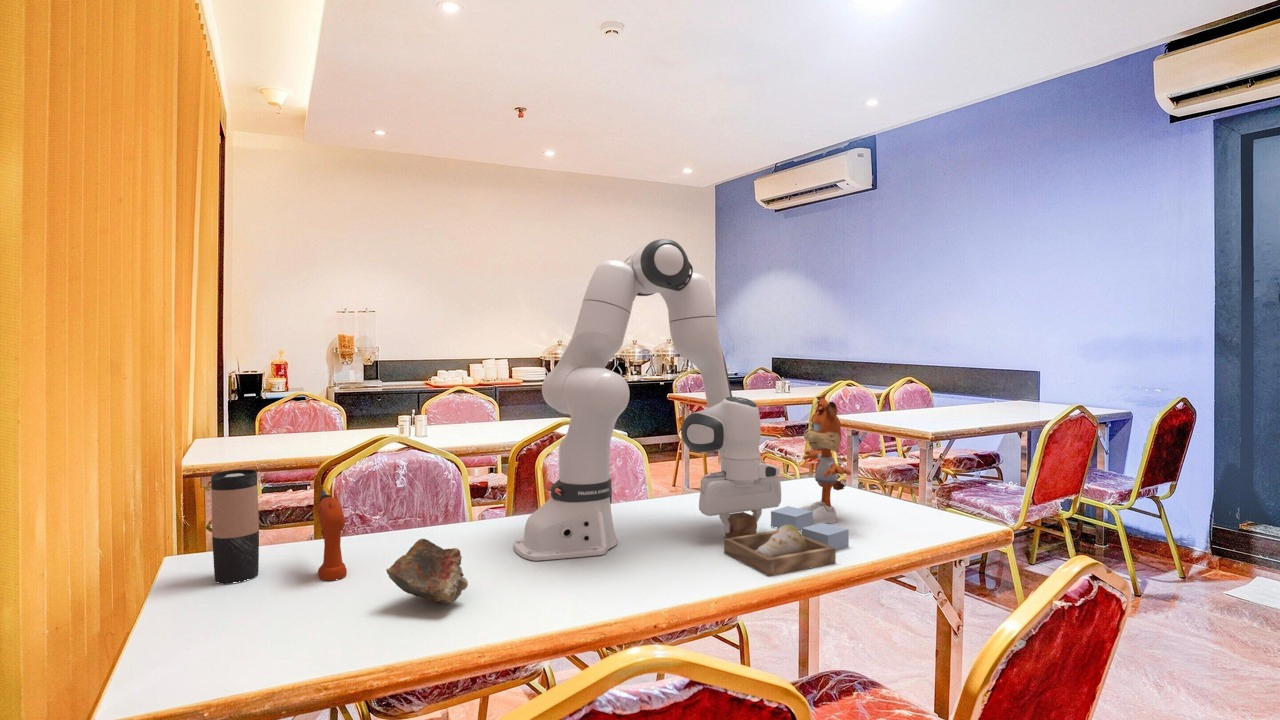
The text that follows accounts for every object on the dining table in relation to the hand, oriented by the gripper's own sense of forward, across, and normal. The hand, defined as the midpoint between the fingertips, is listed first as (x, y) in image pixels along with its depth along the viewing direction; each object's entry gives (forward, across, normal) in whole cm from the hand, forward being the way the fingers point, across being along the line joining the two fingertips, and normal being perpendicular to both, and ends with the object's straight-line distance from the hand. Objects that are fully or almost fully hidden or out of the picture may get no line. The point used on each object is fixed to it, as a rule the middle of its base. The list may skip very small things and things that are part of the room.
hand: (740, 530), depth 152 cm
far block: (+2, +16, +2) cm, 16 cm away
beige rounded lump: (+2, -2, -17) cm, 17 cm away
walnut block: (+2, 0, 0) cm, 2 cm away
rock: (+2, -68, -8) cm, 68 cm away
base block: (+2, +13, -13) cm, 19 cm away
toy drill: (+2, -84, +20) cm, 86 cm away
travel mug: (+2, -100, +22) cm, 102 cm away
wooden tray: (+2, -1, -15) cm, 15 cm away
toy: (+2, +27, +4) cm, 27 cm away
